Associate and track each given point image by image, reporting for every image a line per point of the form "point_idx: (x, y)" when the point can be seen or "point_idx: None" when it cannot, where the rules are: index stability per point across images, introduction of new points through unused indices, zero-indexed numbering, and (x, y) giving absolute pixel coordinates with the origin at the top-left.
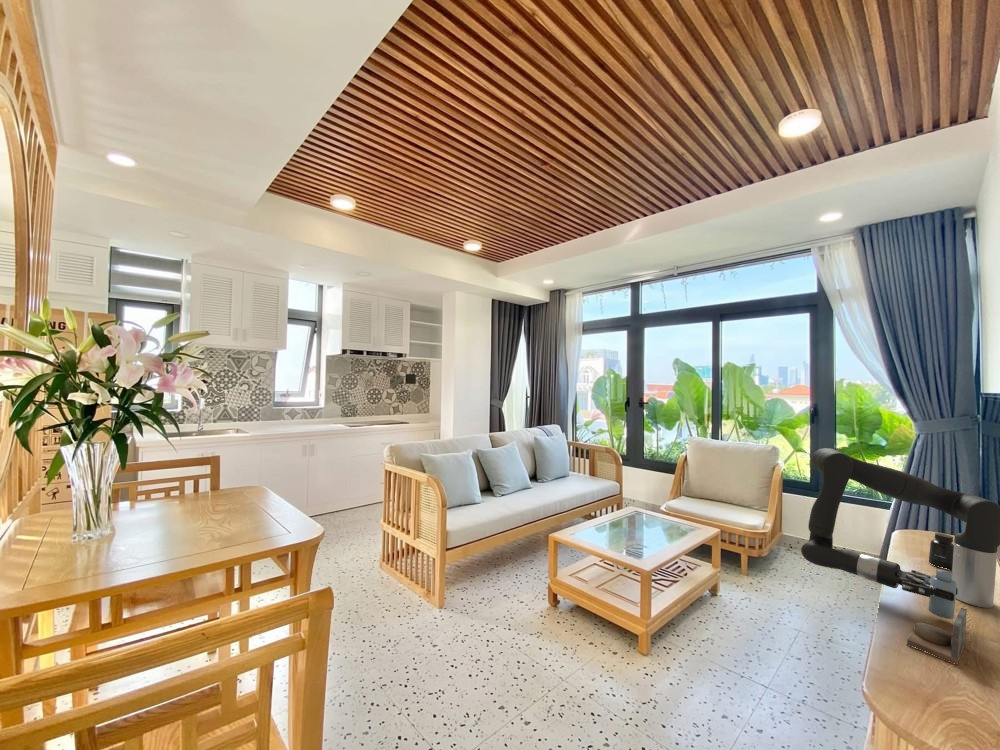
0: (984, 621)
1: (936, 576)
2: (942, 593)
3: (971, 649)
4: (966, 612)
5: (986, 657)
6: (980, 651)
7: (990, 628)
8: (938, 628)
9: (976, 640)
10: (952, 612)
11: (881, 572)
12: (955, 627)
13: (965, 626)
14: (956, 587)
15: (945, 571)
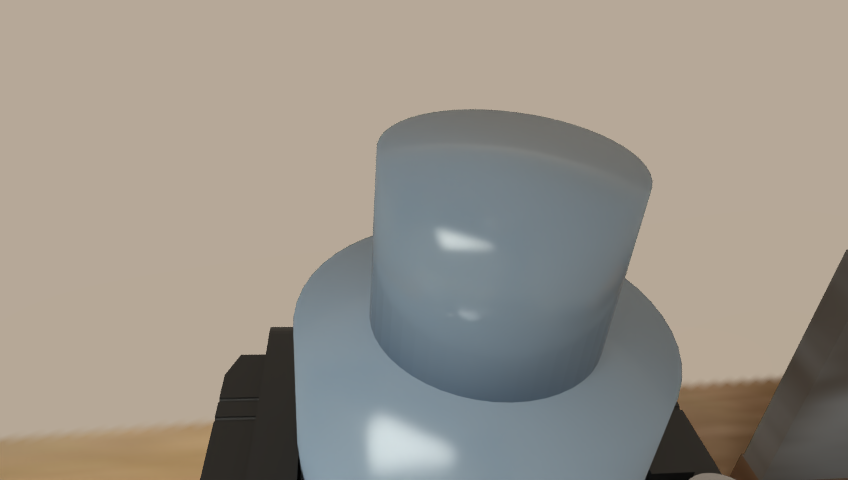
0: (53, 466)
1: (592, 343)
2: (679, 423)
3: (737, 452)
4: (840, 274)
5: (734, 396)
6: (694, 421)
7: (190, 428)
8: None
9: None
10: None
11: None
12: None
13: (786, 378)
14: (273, 327)
15: (461, 146)
